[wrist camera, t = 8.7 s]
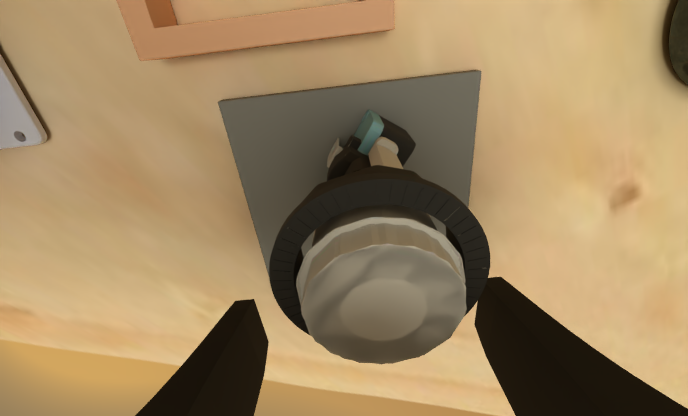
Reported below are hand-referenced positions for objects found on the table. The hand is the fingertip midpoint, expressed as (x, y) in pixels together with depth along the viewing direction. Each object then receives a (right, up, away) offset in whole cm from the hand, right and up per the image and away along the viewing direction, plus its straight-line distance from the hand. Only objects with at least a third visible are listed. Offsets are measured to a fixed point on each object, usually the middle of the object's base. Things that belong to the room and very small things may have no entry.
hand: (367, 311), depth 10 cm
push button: (0, +5, +6) cm, 8 cm away
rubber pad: (0, +4, +7) cm, 8 cm away
